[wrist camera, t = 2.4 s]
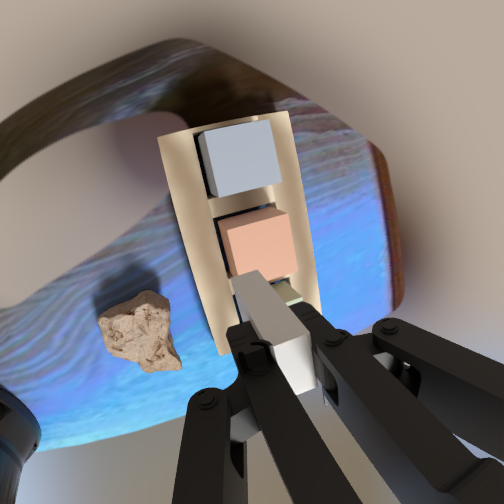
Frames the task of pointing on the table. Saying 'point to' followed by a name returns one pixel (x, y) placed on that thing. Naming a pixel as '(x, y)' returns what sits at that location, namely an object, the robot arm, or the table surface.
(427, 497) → the robot arm
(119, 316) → the stone
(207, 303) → the socket board
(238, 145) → the slate block
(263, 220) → the terracotta block
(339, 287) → the table surface
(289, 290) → the sage block
